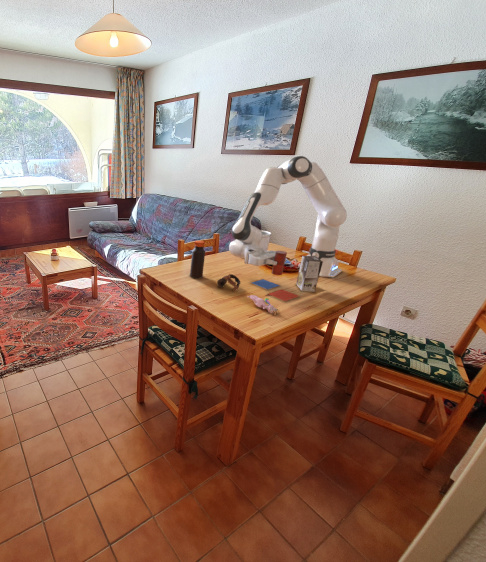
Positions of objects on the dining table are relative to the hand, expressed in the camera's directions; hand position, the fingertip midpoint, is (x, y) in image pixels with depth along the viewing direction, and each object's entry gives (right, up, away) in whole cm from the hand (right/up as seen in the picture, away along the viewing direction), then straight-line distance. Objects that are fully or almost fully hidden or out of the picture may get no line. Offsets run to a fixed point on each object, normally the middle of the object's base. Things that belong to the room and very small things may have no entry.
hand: (280, 262), depth 149 cm
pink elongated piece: (-15, -21, -11) cm, 28 cm away
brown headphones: (-24, -13, +8) cm, 28 cm away
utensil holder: (+10, +6, +53) cm, 54 cm away
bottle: (-35, -7, +23) cm, 43 cm away
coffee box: (+17, -13, +8) cm, 23 cm away
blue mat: (-2, -11, +12) cm, 17 cm away
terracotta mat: (+1, -16, 0) cm, 16 cm away
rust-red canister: (0, -5, +3) cm, 6 cm away
